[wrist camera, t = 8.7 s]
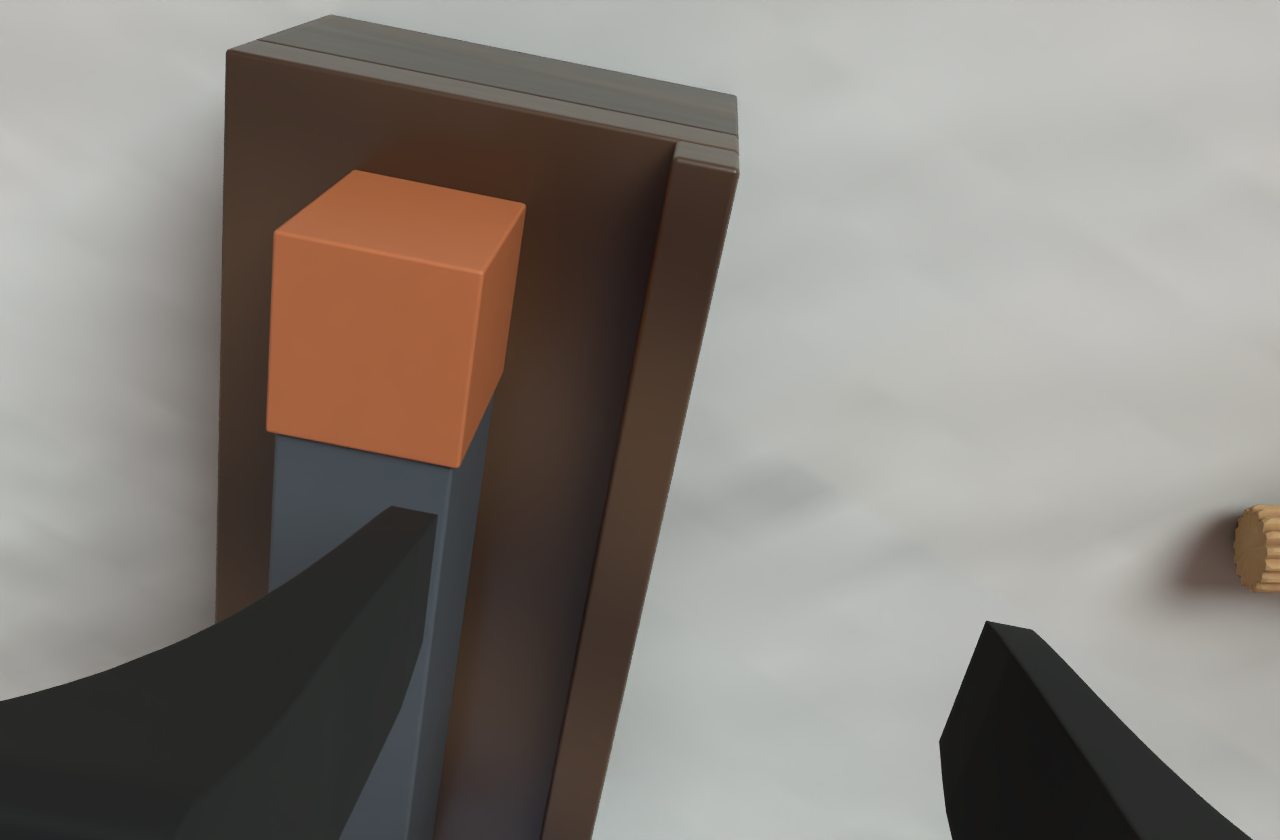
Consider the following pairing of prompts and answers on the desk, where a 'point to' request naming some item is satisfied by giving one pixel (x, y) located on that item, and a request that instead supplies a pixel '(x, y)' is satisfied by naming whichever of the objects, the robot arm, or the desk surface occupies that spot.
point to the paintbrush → (1259, 548)
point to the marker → (390, 418)
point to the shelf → (533, 369)
